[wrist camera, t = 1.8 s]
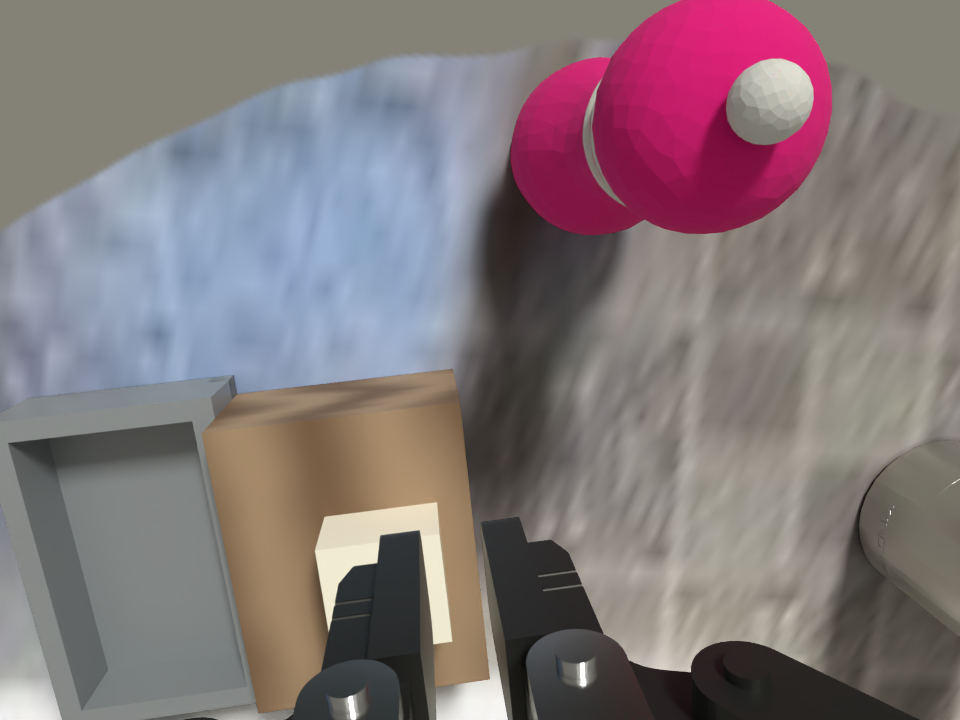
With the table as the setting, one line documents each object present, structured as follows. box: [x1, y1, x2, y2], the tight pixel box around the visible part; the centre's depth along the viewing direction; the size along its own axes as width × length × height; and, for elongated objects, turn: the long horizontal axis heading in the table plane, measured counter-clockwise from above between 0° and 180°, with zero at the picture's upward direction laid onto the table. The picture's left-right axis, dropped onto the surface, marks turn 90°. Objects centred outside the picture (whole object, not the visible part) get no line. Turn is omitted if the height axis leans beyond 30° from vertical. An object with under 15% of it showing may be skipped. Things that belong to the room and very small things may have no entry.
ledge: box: [201, 369, 490, 713], centre depth 34 cm, size 11×14×6 cm
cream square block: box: [315, 502, 452, 644], centre depth 29 cm, size 5×5×3 cm
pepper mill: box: [511, 0, 832, 235], centre depth 24 cm, size 7×7×20 cm
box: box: [0, 375, 256, 720], centre depth 34 cm, size 10×16×4 cm, turn 6°
